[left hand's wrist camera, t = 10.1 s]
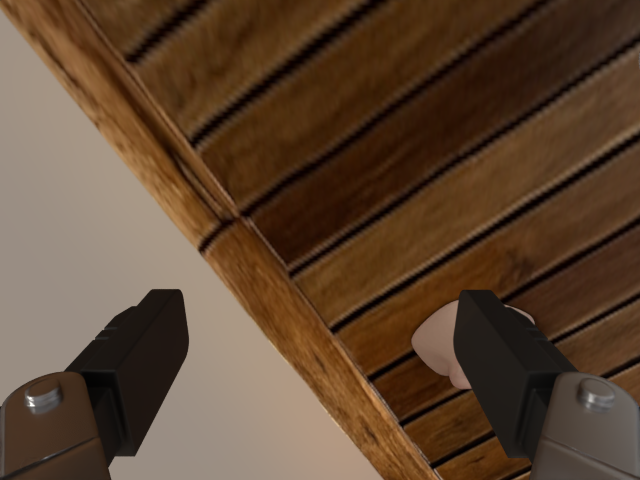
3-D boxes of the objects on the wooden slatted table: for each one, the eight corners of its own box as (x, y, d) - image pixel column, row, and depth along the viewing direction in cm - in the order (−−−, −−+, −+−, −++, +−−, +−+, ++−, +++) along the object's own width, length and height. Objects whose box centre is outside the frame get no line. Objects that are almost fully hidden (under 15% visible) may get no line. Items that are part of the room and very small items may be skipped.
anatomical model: (405, 379, 42) (461, 295, 38) (398, 356, 46) (449, 278, 42) (506, 419, 44) (569, 342, 40) (491, 394, 48) (548, 322, 44)
